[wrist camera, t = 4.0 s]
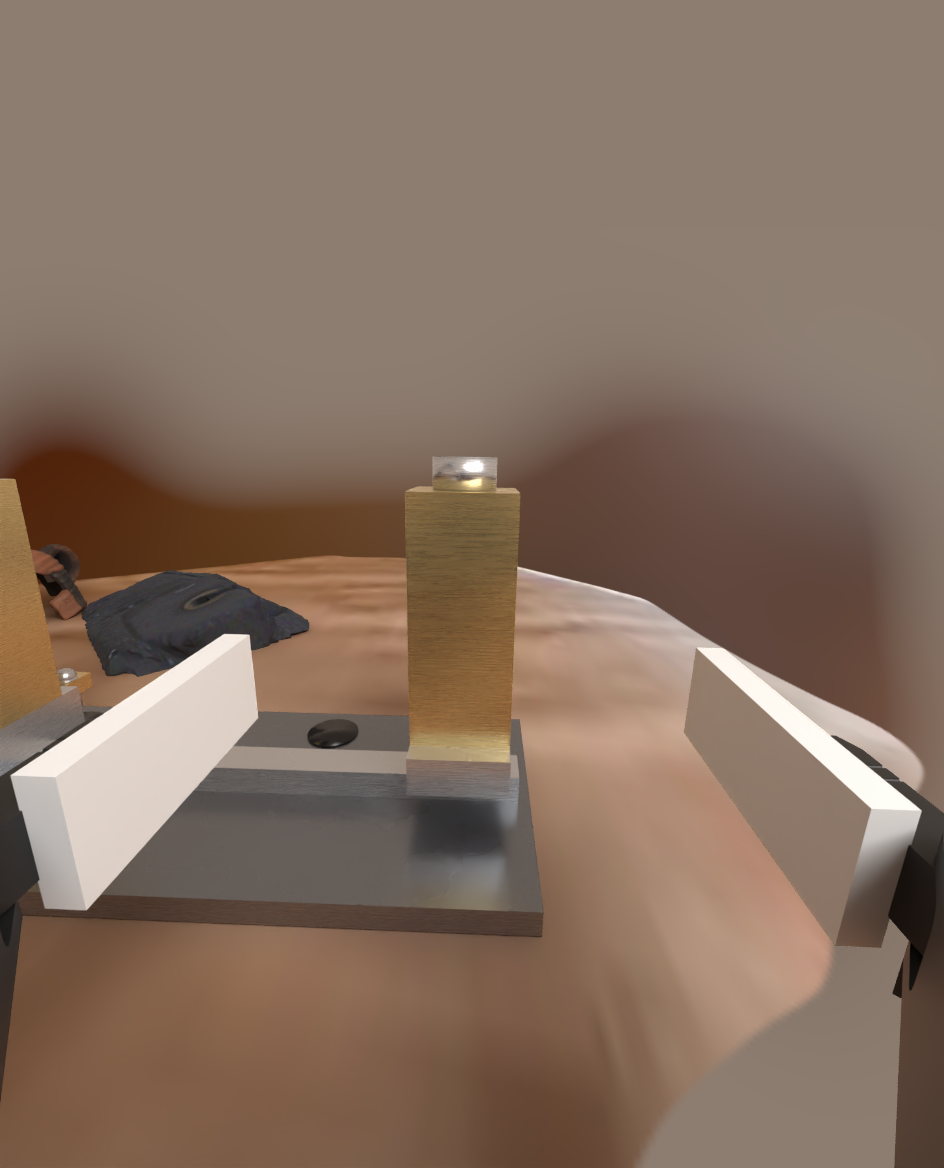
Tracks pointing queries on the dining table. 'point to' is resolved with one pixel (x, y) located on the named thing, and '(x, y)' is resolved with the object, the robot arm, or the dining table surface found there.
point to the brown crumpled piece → (59, 578)
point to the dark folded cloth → (180, 621)
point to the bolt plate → (282, 809)
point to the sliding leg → (461, 629)
